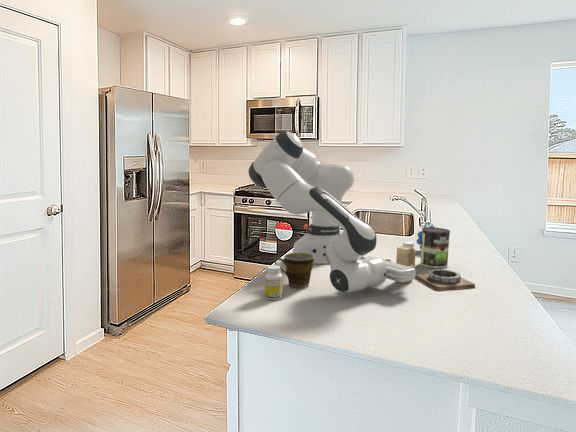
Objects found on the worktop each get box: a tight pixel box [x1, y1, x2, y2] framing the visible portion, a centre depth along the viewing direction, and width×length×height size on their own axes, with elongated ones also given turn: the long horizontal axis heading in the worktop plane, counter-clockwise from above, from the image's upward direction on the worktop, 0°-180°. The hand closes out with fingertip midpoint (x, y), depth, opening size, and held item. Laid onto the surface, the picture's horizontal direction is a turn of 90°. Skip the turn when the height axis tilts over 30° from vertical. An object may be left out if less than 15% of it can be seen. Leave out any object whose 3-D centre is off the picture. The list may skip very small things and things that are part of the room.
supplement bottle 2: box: [402, 241, 416, 268], centre depth 169 cm, size 5×5×10 cm
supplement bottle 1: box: [264, 264, 284, 301], centre depth 135 cm, size 5×5×10 cm
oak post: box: [395, 245, 415, 285], centre depth 151 cm, size 4×4×12 cm
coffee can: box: [419, 227, 451, 269], centre depth 172 cm, size 10×10×14 cm
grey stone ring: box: [428, 268, 462, 284], centre depth 151 cm, size 10×10×2 cm
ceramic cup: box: [274, 252, 314, 289], centre depth 146 cm, size 13×10×10 cm
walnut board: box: [415, 273, 476, 292], centre depth 151 cm, size 14×14×1 cm
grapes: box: [416, 225, 436, 250], centre depth 194 cm, size 12×7×12 cm, turn 44°
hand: (400, 264), depth 149 cm, fingers open, 8 cm apart
